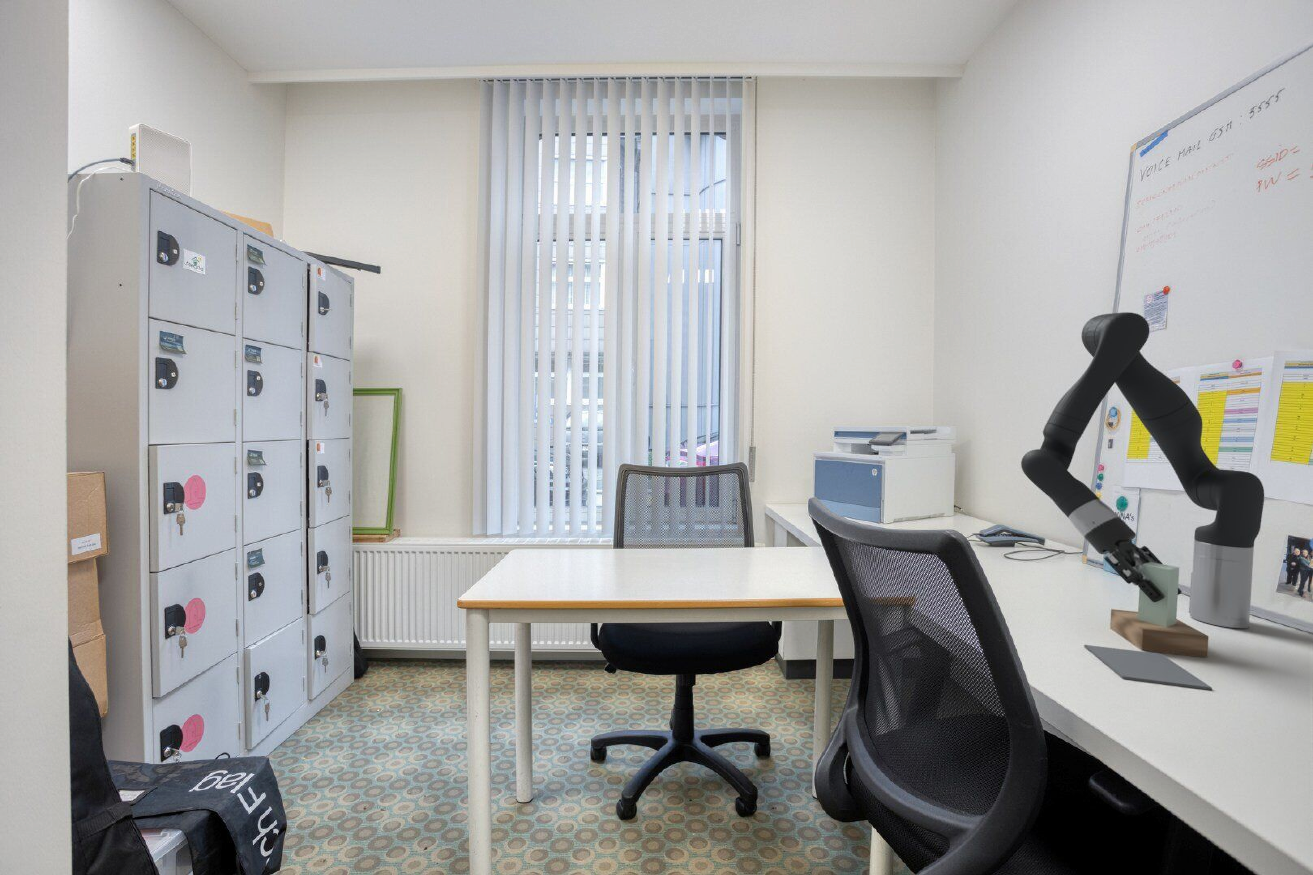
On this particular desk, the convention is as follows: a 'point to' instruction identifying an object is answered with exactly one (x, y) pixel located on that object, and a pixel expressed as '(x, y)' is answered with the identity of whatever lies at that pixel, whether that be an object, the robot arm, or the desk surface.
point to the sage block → (1168, 585)
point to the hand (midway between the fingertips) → (1168, 597)
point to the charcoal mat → (1146, 667)
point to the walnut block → (1159, 635)
